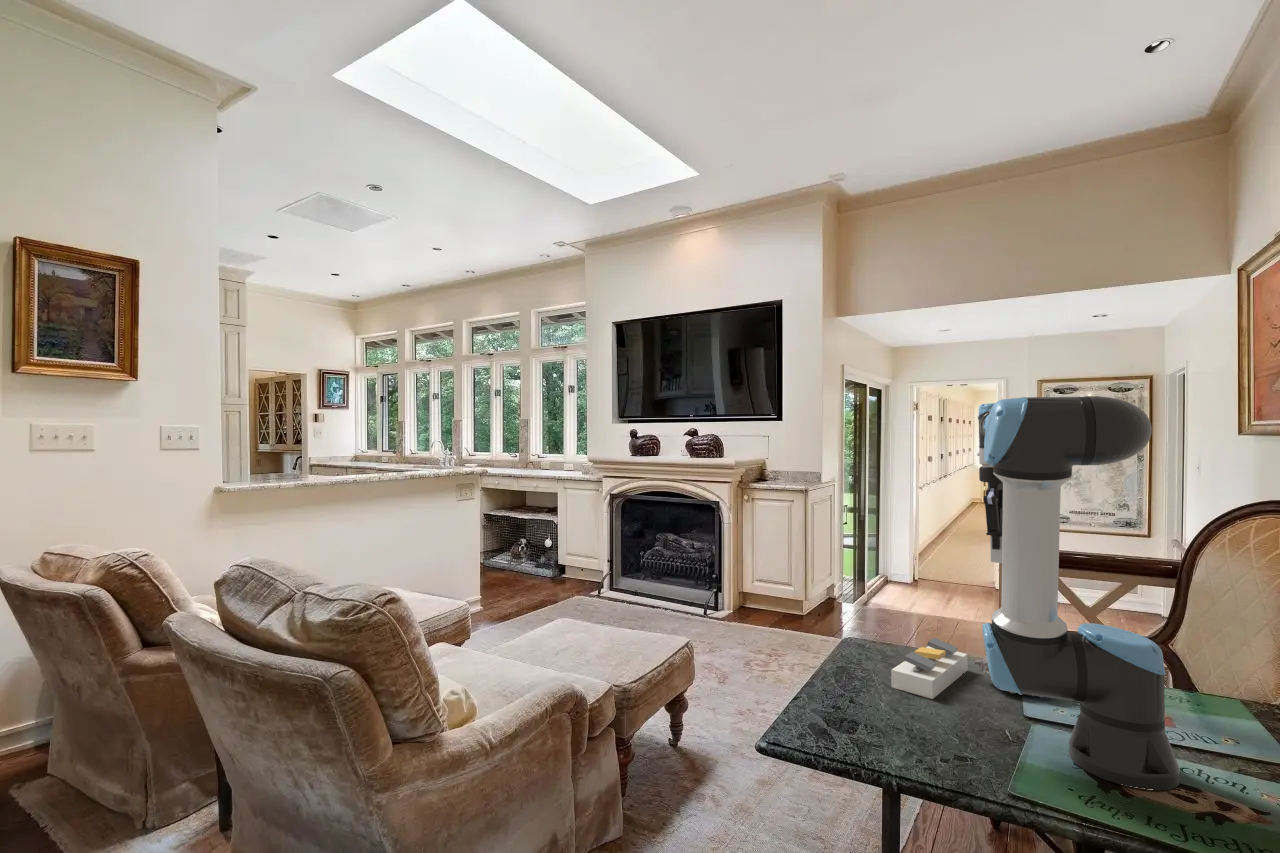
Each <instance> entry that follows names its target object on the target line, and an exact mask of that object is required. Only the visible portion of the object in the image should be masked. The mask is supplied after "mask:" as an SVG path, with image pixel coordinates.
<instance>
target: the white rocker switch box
mask: <svg viewBox="0 0 1280 853" xmlns="http://www.w3.org/2000/svg"><path fill="white" fill-rule="evenodd" d="M925 648H931V649H934V648H932V647H929V646H926V647H925ZM927 659H930V660H932V661H934V662H936V667H935V668H933V669H932V670H931V671H929V672H928V671H926V670H924V669H922V668H919V667H917V666H915V665H913V664H911V663H909V662H906V661H903V662H901V663H899V664H898V665H897V666H895V667H893V668H892V669H891V671H890V674H891V676H890V677H891V681H890V682H891V684H890V685H891V688H893V689H896V690H900V691H903V692H906V693H909V694H914V695H917V696H921V697H924V698H926V699H927V698H928V699H931V700H933V699H935V698H936V697H937V696H938V695H939V694H941V693H942V692H943V691H944V690H946V689H947V688H949V686H951V685H952V684H953V683H954V682H955V681H956V680H958V679H959V678H960V677H961V676H963V675H964V674H965V673H966V672H968V653H964V652H961V651H957V652H955V653H954V654H953V655H951V656H950V655H948V654H946V656H944V657H943V658H941V659H940V660H938V659H932V658H927ZM965 671H966V672H965ZM963 673H964V674H963ZM962 674H963V675H962Z"/></svg>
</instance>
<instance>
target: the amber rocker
mask: <svg viewBox="0 0 1280 853" xmlns="http://www.w3.org/2000/svg"><path fill="white" fill-rule="evenodd" d="M914 653H916V654H919V655H921V656H923V657H925V658H932V659H938V660H940V659H941V658H943V657H944V656H946V653H945V650H938V649H931V648H926V647H923V646H920V647H919V648H917V649H915V650H914Z"/></svg>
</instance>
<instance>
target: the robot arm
mask: <svg viewBox="0 0 1280 853" xmlns="http://www.w3.org/2000/svg"><path fill="white" fill-rule="evenodd" d="M978 407H979V408H978V415H977V420H978V443H979V446H978V450H979V451H978V452H977V453H976V456H977V457H979V458H978V460H979V465H982V466H979V471H978V476H979V477H978V479H979V481H980V482H981V483H982V482H983V483H987V489H986V490H985V495H984V496H983V503H984V508H985V520H986V531H987V532H986V533H985V534H986V536H989V537H990V538H989V539H990V562H991V563H996V564H997V563H998V564H1001V602H1000V603H1001V605H1000V606H1001V607H999V608H998V609H995V610H994V611H993V612H992V614H991V623H990V622H986V623H983V624H982V626H981V628H982V637H983V644H984V650H985V656H986V657H987V663H988V668H989V673H990V677H991V679H990V680H991V682H992V684H993V686H994V687H995V688H997V689H999V690H1000V691H1003V692H1004V691H1006V692H1009V693H1010V692H1015V693H1014V694H1016V693H1017V694H1018V695H1021V696H1022V695H1028V696H1032V695H1035V696H1036V697H1040V696H1042V698H1049V699H1050V698H1052V699H1057V700H1064V701H1065V700H1066V701H1071V702H1072V701H1073V702H1079V706H1080V707H1079V715H1078V717H1077V720H1076V722H1075V725H1074V727H1073V730H1072V732H1071V734H1070V737H1069V739H1068V756H1069V758H1070V759H1071V760H1072V762H1073V763H1075V765H1077V766H1079V768H1081V769H1082V770H1084V771H1086V773H1087V772H1088V773H1089V774H1091V775H1093V776H1095V777H1098V778H1100V779H1103V780H1105V781H1107V782H1110V781H1111V783H1113V782H1115V783H1114V784H1116V783H1119V784H1123V785H1127V786H1132V787H1138V788H1145V789H1153V790H1164V791H1170V789H1171V790H1174V789H1176V788H1177V787H1178V786H1179V785H1180V783H1181V780H1180V779H1181V777H1180V776H1181V773H1180V772H1181V769H1180V766H1179V764H1178V761H1177V758H1176V756H1175V753H1174V750H1173V749H1172V745H1171V742H1170V740H1169V738H1168V735H1167V732H1166V712H1165V711H1166V706H1165V705H1166V704H1165V702H1166V701H1165V699H1166V698H1165V676H1166V675H1167V674H1166V673H1167V671H1166V670H1165V663H1164V662H1165V661H1164V654H1163V651H1162V648H1161V647H1160V646H1159V644H1157V643H1156V642H1155V641H1153V640H1151V639H1149V638H1147V637H1145V636H1143V635H1141V634H1138V633H1135V632H1133V631H1130V630H1126V629H1123V628H1119V627H1114V626H1111V625H1106V624H1105V625H1104V624H1102V623H1101V624H1100V623H1094V622H1093V623H1092V622H1091V623H1082V624H1080V625H1079V626H1078V628H1077V632H1073V631H1068V625H1067V623H1066V622H1065V621H1064V620H1063V619H1062V618H1061V617H1060V616H1059V615H1058V612H1059V610H1058V608H1059V607H1058V605H1059V602H1058V601H1059V570H1060V569H1059V568H1060V567H1059V566H1060V534H1061V533H1060V532H1061V531H1060V530H1061V529H1060V528H1061V522H1060V521H1061V490H1062V489H1061V488H1062V486H1063V485H1064V484H1065V483H1067V482H1068V481H1069V480H1070V479H1073V478H1072V477H1073V466H1101V465H1102V466H1103V465H1109V464H1115V463H1119V462H1122V461H1125V460H1127V459H1129V458H1133V457H1134V456H1136V455H1137V454H1139V453H1140V452H1141V451H1142V450H1144V448H1145V447H1147V445H1148V444H1149V442H1150V440H1151V437H1152V432H1153V429H1152V428H1153V427H1152V423H1151V420H1150V418H1149V417H1148V415H1147V413H1146V412H1145V411H1143V409H1141V408H1140V407H1138V406H1137V405H1135V404H1133V403H1131V402H1128V401H1125V400H1122V399H1119V398H1114V397H1108V396H1099V395H1096V396H1095V395H1090V396H1089V395H1086V396H1039V397H1038V396H1037V397H1036V396H1035V397H1034V396H1033V397H1031V396H1030V397H1026V396H1021V397H1014V398H1012V397H1011V398H1003V399H1000V400H998V401H995V402H993V403H992V402H991V403H989V402H988V403H982V404H980V405H979V406H978ZM1035 696H1034V697H1035ZM1119 784H1118V785H1119ZM1123 785H1122V786H1123ZM1127 786H1126V787H1127ZM1173 788H1174V789H1173Z"/></svg>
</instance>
